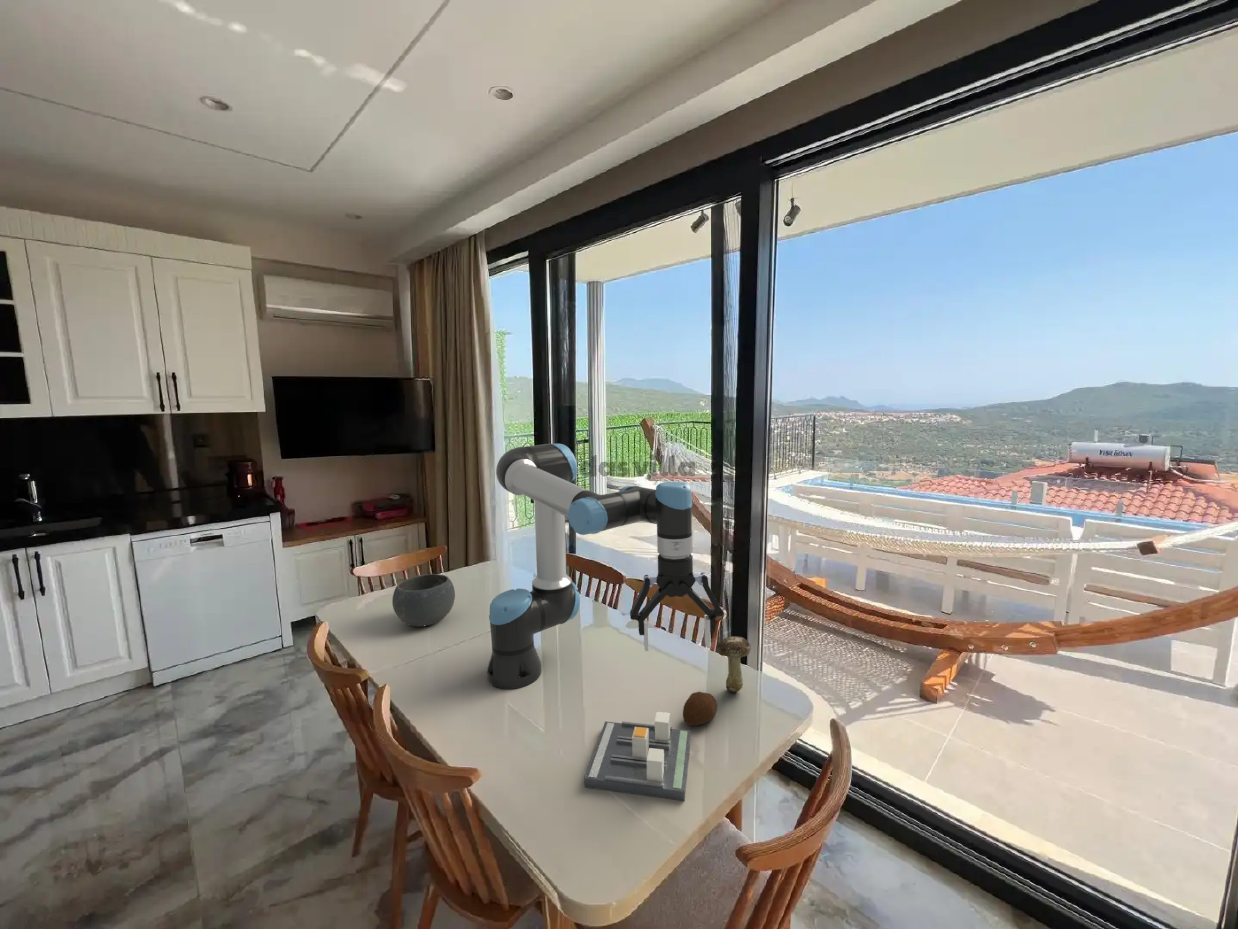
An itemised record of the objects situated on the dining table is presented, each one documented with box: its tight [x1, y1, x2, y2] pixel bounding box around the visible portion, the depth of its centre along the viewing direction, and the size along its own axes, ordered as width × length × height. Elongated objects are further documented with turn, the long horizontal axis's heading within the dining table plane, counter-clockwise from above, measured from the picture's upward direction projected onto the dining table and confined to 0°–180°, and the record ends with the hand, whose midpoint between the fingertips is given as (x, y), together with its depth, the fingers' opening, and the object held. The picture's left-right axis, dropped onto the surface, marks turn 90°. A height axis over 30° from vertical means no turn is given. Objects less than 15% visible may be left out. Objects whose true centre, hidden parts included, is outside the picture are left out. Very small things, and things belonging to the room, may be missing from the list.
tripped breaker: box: [632, 727, 649, 759], centre depth 108 cm, size 3×4×5 cm
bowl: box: [392, 573, 456, 627], centre depth 178 cm, size 20×20×15 cm
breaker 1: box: [654, 711, 671, 741], centre depth 113 cm, size 3×4×4 cm
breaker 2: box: [647, 748, 664, 783], centre depth 101 cm, size 3×4×4 cm
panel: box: [584, 721, 692, 802], centre depth 108 cm, size 20×18×3 cm
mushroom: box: [716, 635, 752, 694], centre depth 131 cm, size 9×9×15 cm
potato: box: [682, 691, 718, 726], centre depth 121 cm, size 7×10×7 cm
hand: (676, 647), depth 112 cm, fingers open, 13 cm apart
